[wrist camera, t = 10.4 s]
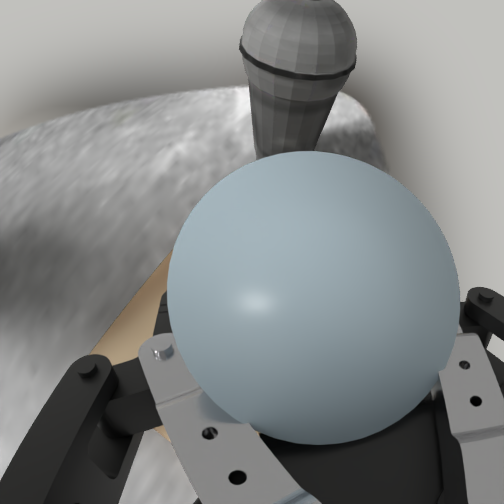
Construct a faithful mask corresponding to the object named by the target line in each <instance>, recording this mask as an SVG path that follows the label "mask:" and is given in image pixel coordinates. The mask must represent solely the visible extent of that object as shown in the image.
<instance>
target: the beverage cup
mask: <svg viewBox="0 0 504 504" xmlns="http://www.w3.org/2000/svg"><path fill="white" fill-rule="evenodd" d="M356 49H357V38H356V32H355V29H354V27H353V24H352V22H351V20H350V18H349V17H348V15H347V13H346V12H345V11H344V9H343V8H342V7H341V6H340V5H339V4H338V3H336V2H335V1H334V0H262V1H261V2H260V3H258V4H257V5H256V6H255V7H254V8H253V10H252V11H251V12H250V14H249V15H248V17H247V19H246V21H245V25H244V28H243V35H242V36H241V39H240V46H239V50H240V52H241V53H242V56H243V63H244V67H245V71H246V73H247V75H248V81H249V92H250V103H251V114H252V125H253V136H254V147H255V150H256V160H259V159H262V158H265V157H269V156H273V155H276V154H281V153H288V152H296V151H314V148H315V146H316V144H317V141H318V139H319V137H320V134H321V132H322V130H323V127H324V125H325V122H326V120H327V118H328V115H329V113H330V111H331V108H332V106H333V103H334V101H335V99H336V96H337V94H338V92H339V91H340V90H341V89H342V87H343V86H344V84H345V82H346V81H347V79H348V77H349V74H350V72H351V71H352V70H353V69H354V68H355V65H356Z"/></svg>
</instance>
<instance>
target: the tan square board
mask: <svg viewBox="0 0 504 504" xmlns="http://www.w3.org/2000/svg"><path fill="white" fill-rule="evenodd" d="M173 249H174V248H173ZM172 253H173V250H172V251H171V252H170V253H169V254H168V256H167V257H166V258H165V259H164V260H163V261H162V263H161V264H160V265H159V266H158V267H157V269H156V270H155V271H154V272H153V274H152V275H151V276H150V277H149V278H148V280H147V281H146V282H145V283H144V284H143V286H142V287H141V288H140V289H139V291H138V292H137V293H136V294H135V296H134V297H133V298H132V299H131V301H130V302H129V303H128V304H127V306H126V307H125V308H124V309H123V311H122V312H121V313H120V315H119V316H118V317H117V318H116V320H115V321H114V322H113V324H112V325H111V326H110V327H109V329H108V330H107V331H106V333H105V334H104V335H103V337H102V338H101V339H100V341H99V342H98V343H97V345H96V346H95V347H94V349H93V350H92V351H91V353H90V354H89V355H91V354H100V355H103V356H106V357H107V358H108V359H109V360H110V362H111V364H112V366H113V365H116V364H119V363H123V362H126V361H129V360H132V359H134V358H136V357H138V351H139V348H140V346H141V345H142V344H143V343H144V342H145V341H146V340H147V339H149V338H151V337H153V332H154V327H155V323H156V318H157V314H158V309H159V307H160V300H161V296H162V295H163V294H164V293H165V292H166V290H167V280H168V272H169V264H170V260H171V256H172ZM153 429H155V430H156V431H157V432H158V433H160V434H161V435H162V436H163V437H165V438H166V439H167V440H169V441H170V439H169V437H168V435H167V432H166V430H165V428H164V425H162V426H159V427H156V428H153ZM255 432H256V433H257V434H258V436H259V433H260V432H258V431H255ZM170 442H171V441H170Z"/></svg>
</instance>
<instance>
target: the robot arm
mask: <svg viewBox="0 0 504 504" xmlns="http://www.w3.org/2000/svg"><path fill="white" fill-rule="evenodd" d="M492 334H495V335H496V336H497V337H499V338H500V339H502V340H503V341H504V297H503V296H502V295H500V294H498V293H497V292H495V291H493V290H491V289H488V288H484V287H475V288H472V289H470V290H469V291H468V294H467V298H466V301H465V302H460V316H459V325H458V330H457V335H456V339H455V343H454V346H453V349H452V352H451V355H450V357H449V360H448V362H447V364H446V366H445V368H444V369H443V370H441V371H439V372H438V381H437V382H436V383H435V385H434V386H433V388H432V389H431V390H430V392H429V393H428V394H427V395H426V396H425V398H424V399H423V400H422V401H421V402H420V403H419V404H418V405H417V406H416V407H415V408H414V409H413V410H411V411H410V412H409V413H408V414H406V415H405V416H404V417H403V418H401V419H400V420H399V421H397V422H395V423H394V424H392V425H390V426H388V427H387V428H385V429H383V430H381V431H379V432H377V433H374V434H372V435H369V436H367V437H364V438H361V439H357V440H353V441H349V442H344V443H338V444H326V445H312V444H299V443H293V442H289V441H284V440H280V439H276V438H273V437H270V436H268V435H265V434H263V433H259V436H258V434H257V433H256V432H255V430H254V429H253V428H252V426H251V425H250V424H249V423H245V424H243V423H241V422H239V421H238V420H236V419H234V418H233V417H232V416H230V415H229V414H228V413H227V412H225V411H224V410H223V409H222V408H220V407H219V406H218V405H217V404H216V403H215V402H214V401H213V400H212V399H211V398H210V397H209V396H208V395H207V394H206V393H205V392H204V390H203V389H202V388H201V387H200V386H199V384H198V383H197V381H196V380H195V378H194V377H193V376H192V374H191V373H190V371H189V370H188V368H187V366H186V364H185V362H184V360H183V358H182V356H181V354H180V352H179V350H178V347H177V344H176V341H175V338H174V335H173V332H172V328H171V324H170V318H169V312H168V306H167V290H166V292H165V293H164V294H163V295H162V296H161V300H160V307H159V309H158V314H157V318H156V323H155V327H154V332H153V337H151V338H149V339H147V340H146V341H145V342H144V343H143V344H142V345H141V346H140V348H139V351H138V357H136V358H134V359H132V360H129V361H126V362H123V363H119V364H116V365H113V366H112V364H111V362H110V360H109V359H108V358H107V357H106V356H103V355H100V354H91V355H87V356H84V357H82V358H80V359H78V360H77V361H75V362H74V363H73V364H72V365H71V366H70V367H69V369H68V370H67V372H66V373H65V375H64V376H63V378H62V379H61V381H60V382H59V384H58V385H57V387H56V388H55V390H54V391H53V393H52V394H51V396H50V397H49V399H48V400H47V402H46V404H45V405H44V407H43V408H42V410H41V411H40V413H39V415H38V416H37V418H36V419H35V421H34V423H33V424H32V426H31V428H30V429H29V431H28V433H27V434H26V436H25V438H24V439H23V441H22V443H21V444H20V446H19V448H18V450H17V451H16V453H15V455H14V457H13V459H12V460H11V462H10V464H9V466H8V468H7V469H6V471H5V473H4V475H3V477H2V479H1V481H0V504H118V503H119V500H120V497H121V495H122V492H123V489H124V486H125V483H126V480H127V478H128V475H129V472H130V469H131V466H132V464H133V461H134V458H135V455H136V453H137V450H138V447H139V444H140V442H141V439H142V436H143V434H144V431H146V430H149V429H153V428H156V427H159V426H162V425H164V428H165V430H166V432H167V435H168V437H169V439H170V441H171V443H172V446H173V448H174V450H175V452H176V454H177V456H178V458H179V460H180V462H181V464H182V467H183V469H184V471H185V473H186V474H187V476H188V478H189V480H190V482H191V484H192V486H193V488H194V490H195V492H196V493H197V495H198V498H197V500H196V501H195V502H194V503H193V504H504V362H502V361H501V360H500V359H498V358H497V357H496V356H495V355H493V354H492V353H490V352H489V351H488V350H487V349H486V348H487V346H488V344H489V341H490V339H491V336H492Z"/></svg>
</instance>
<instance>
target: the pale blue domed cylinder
mask: <svg viewBox="0 0 504 504" xmlns="http://www.w3.org/2000/svg"><path fill="white" fill-rule="evenodd" d="M167 306H168V312H169V318H170V324H171V328H172V332H173V335H174V338H175V341H176V344H177V347H178V350H179V352H180V354H181V356H182V358H183V360H184V362H185V364H186V366H187V368H188V370H189V371H190V373H191V374H192V376H193V377H194V378H195V380H196V381H197V383H198V384H199V386H200V387H201V388H202V389H203V390H204V392H205V393H206V394H207V395H208V396H209V397H210V398H211V399H212V400H213V401H214V402H215V403H216V404H217V405H218V406H219V407H220V408H222V409H223V410H224V411H225V412H227V413H228V414H229V415H230V416H232V417H233V418H234V419H236V420H238V421H239V422H241V423H243V424H245V423H249V424H250V425H251V426H252V428H253V429H254V430H255V431H258V432H260V433H263V434H265V435H268V436H270V437H273V438H276V439H280V440H284V441H289V442H293V443H299V444H312V445H326V444H338V443H344V442H349V441H353V440H357V439H361V438H364V437H367V436H369V435H372V434H374V433H377V432H379V431H381V430H383V429H385V428H387V427H388V426H390V425H392V424H394V423H395V422H397V421H399V420H400V419H401V418H403V417H404V416H405V415H406V414H408V413H409V412H410V411H411V410H413V409H414V408H415V407H416V406H417V405H418V404H419V403H420V402H421V401H422V400H423V399H424V398H425V396H426V395H427V394H428V393H429V392H430V390H431V389H432V388H433V386H434V385H435V383H436V382H437V381H438V372H439V371H441V370H443V369H444V368H445V366H446V364H447V362H448V360H449V357H450V355H451V352H452V349H453V346H454V343H455V339H456V335H457V330H458V325H459V316H460V290H459V282H458V275H457V271H456V267H455V263H454V259H453V256H452V254H451V251H450V248H449V246H448V243H447V241H446V239H445V237H444V235H443V233H442V231H441V229H440V227H439V226H438V224H437V223H436V221H435V220H434V218H433V217H432V215H431V214H430V212H429V211H428V210H427V209H426V207H425V206H424V205H423V204H422V203H421V202H420V200H419V199H418V198H417V197H416V196H415V195H414V194H412V193H411V192H410V191H409V190H408V189H407V188H406V187H405V186H403V185H402V184H401V183H399V182H398V181H397V180H396V179H394V178H393V177H391V176H390V175H388V174H386V173H385V172H383V171H381V170H380V169H378V168H376V167H374V166H371V165H369V164H367V163H365V162H363V161H360V160H357V159H354V158H351V157H348V156H343V155H339V154H334V153H328V152H318V151H296V152H288V153H281V154H276V155H273V156H269V157H265V158H262V159H259V160H257V161H254V162H251V163H249V164H247V165H245V166H243V167H241V168H239V169H237V170H236V171H234V172H232V173H230V174H229V175H228V176H226V177H225V178H223V179H222V180H221V181H219V182H218V183H217V184H216V185H215V186H214V187H213V188H211V189H210V190H209V191H208V192H207V193H206V194H205V195H204V196H203V197H202V199H201V200H200V201H199V202H198V204H197V205H196V206H195V207H194V209H193V210H192V211H191V213H190V215H189V216H188V218H187V220H186V221H185V223H184V225H183V226H182V229H181V231H180V233H179V236H178V238H177V240H176V242H175V245H174V249H173V253H172V256H171V260H170V264H169V272H168V280H167Z"/></svg>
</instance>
